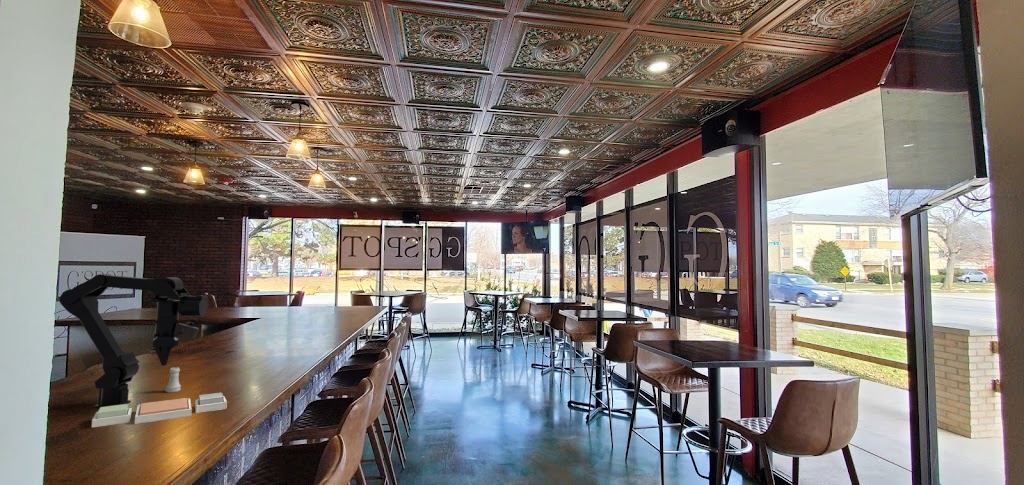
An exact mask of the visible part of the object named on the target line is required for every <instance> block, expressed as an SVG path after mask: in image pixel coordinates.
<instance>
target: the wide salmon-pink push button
mask: <svg viewBox="0 0 1024 485" xmlns="http://www.w3.org/2000/svg"><path fill="white" fill-rule="evenodd" d="M187 403H188V409H185V410H177V411H170V412H162V413H155V414H148V415H140V410H141V405H142V404H138V405H137V407H136V413H135V417H134V425H139V424H143V423H144V424H146V423H151V422H159V421H165V420H171V419H172V420H174V419H179V418H185V417H186V418H187V417H192V412H193V410H192V404H191V403H192V402H191V398H187Z"/></svg>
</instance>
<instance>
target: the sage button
mask: <svg viewBox="0 0 1024 485" xmlns="http://www.w3.org/2000/svg"><path fill="white" fill-rule="evenodd" d="M128 408H129V403H126V404H123V405H115V406H107V407H99V409H98V411H97V412H98V415H97V419H100V418H107V417H115V416H122V415H127V411H128Z"/></svg>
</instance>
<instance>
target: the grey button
mask: <svg viewBox="0 0 1024 485" xmlns="http://www.w3.org/2000/svg"><path fill="white" fill-rule="evenodd" d="M223 396H224V395H223V392H216V393H215V392H214V393H209V394H208V393H205V394H199V395H198V399H199V405H206V404H213V403H221V402H223V398H224V397H223Z"/></svg>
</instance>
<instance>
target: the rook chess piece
mask: <svg viewBox="0 0 1024 485" xmlns="http://www.w3.org/2000/svg"><path fill="white" fill-rule="evenodd" d="M180 371H181V369H180V367H178V366H176V367H175V366H174V367H170V368H169V371H168V373H170V374H169V375H168V376H169V380H168V384H167V385H166V387H165V393H169V394H170V393H177V392H180V391H181V390H182V388H181V387H182V385H181V384H180V380H179V376H180V374H179V373H180Z"/></svg>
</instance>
